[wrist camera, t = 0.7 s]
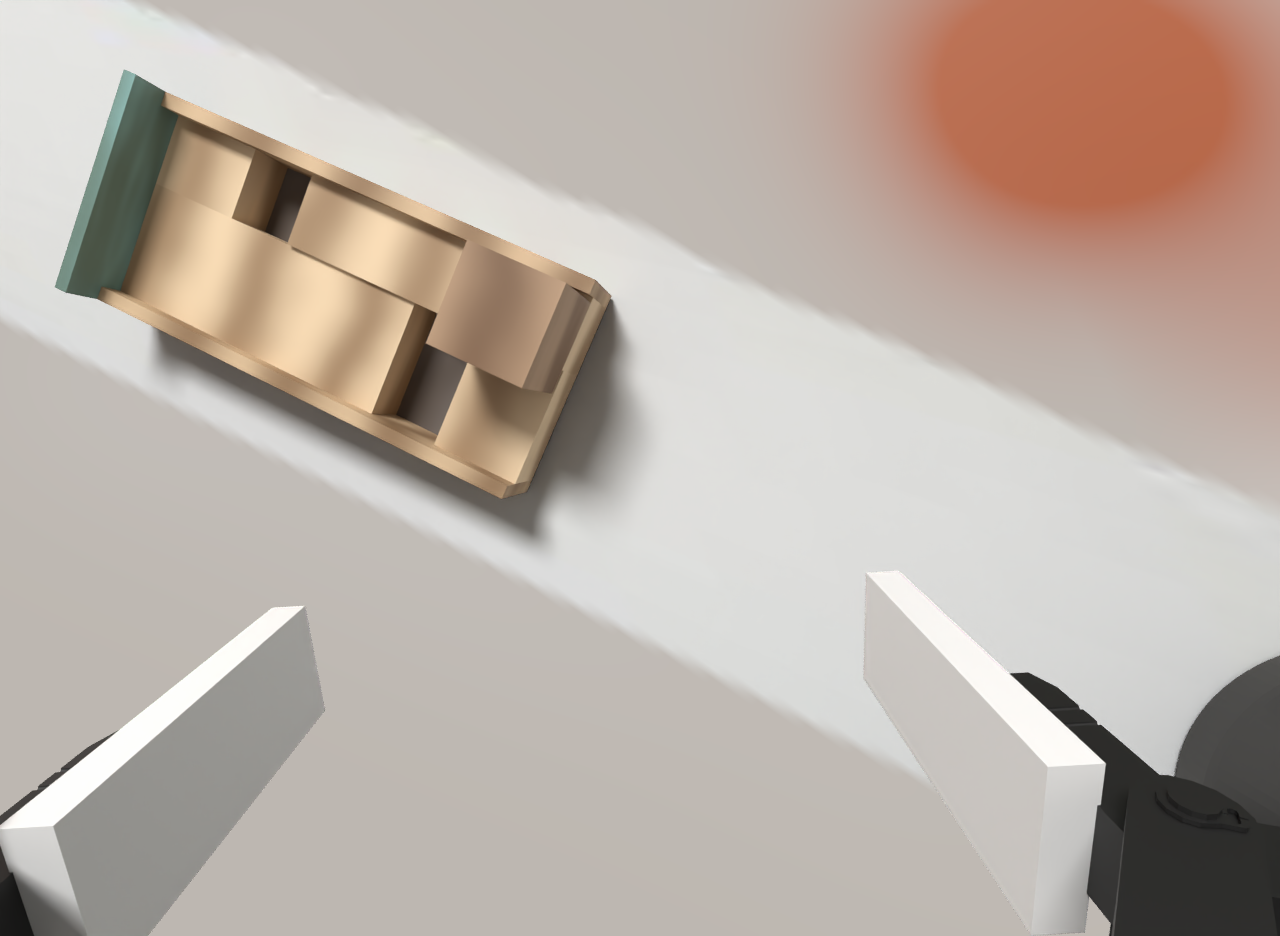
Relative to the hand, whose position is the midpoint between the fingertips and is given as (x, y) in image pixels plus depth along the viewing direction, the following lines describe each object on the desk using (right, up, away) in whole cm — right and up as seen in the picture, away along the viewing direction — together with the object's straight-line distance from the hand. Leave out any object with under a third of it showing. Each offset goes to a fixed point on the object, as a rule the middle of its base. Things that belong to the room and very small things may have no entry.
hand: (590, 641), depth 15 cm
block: (-5, +11, +18) cm, 22 cm away
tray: (-15, +14, +22) cm, 30 cm away
